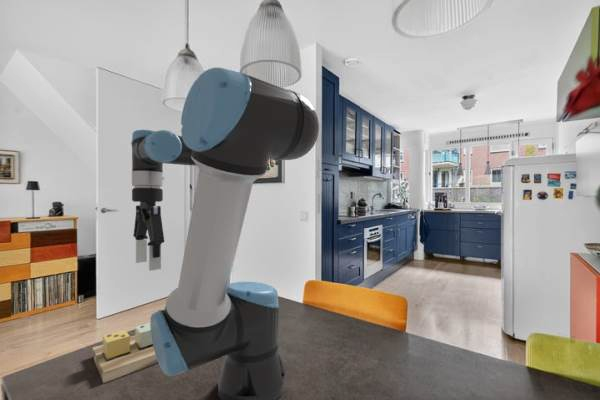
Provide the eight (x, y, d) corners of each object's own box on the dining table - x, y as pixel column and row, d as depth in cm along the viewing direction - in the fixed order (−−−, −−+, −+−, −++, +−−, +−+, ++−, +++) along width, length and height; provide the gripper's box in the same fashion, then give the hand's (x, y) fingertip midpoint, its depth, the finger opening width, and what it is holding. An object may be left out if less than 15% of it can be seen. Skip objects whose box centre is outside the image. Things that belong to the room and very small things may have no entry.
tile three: (129, 351, 74) (129, 335, 74) (106, 358, 71) (106, 342, 71) (125, 344, 78) (125, 329, 78) (103, 350, 74) (103, 335, 74)
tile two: (160, 341, 79) (160, 326, 79) (140, 347, 76) (140, 332, 76) (154, 335, 83) (154, 321, 83) (135, 341, 80) (135, 326, 80)
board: (199, 347, 82) (199, 338, 82) (103, 383, 66) (103, 372, 66) (179, 329, 93) (179, 322, 93) (92, 356, 77) (92, 347, 77)
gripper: (177, 186, 73) (178, 271, 73) (149, 189, 91) (149, 257, 91) (145, 185, 68) (145, 276, 68) (121, 188, 85) (121, 260, 85)
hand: (147, 265), depth 79 cm, fingers open, 12 cm apart
